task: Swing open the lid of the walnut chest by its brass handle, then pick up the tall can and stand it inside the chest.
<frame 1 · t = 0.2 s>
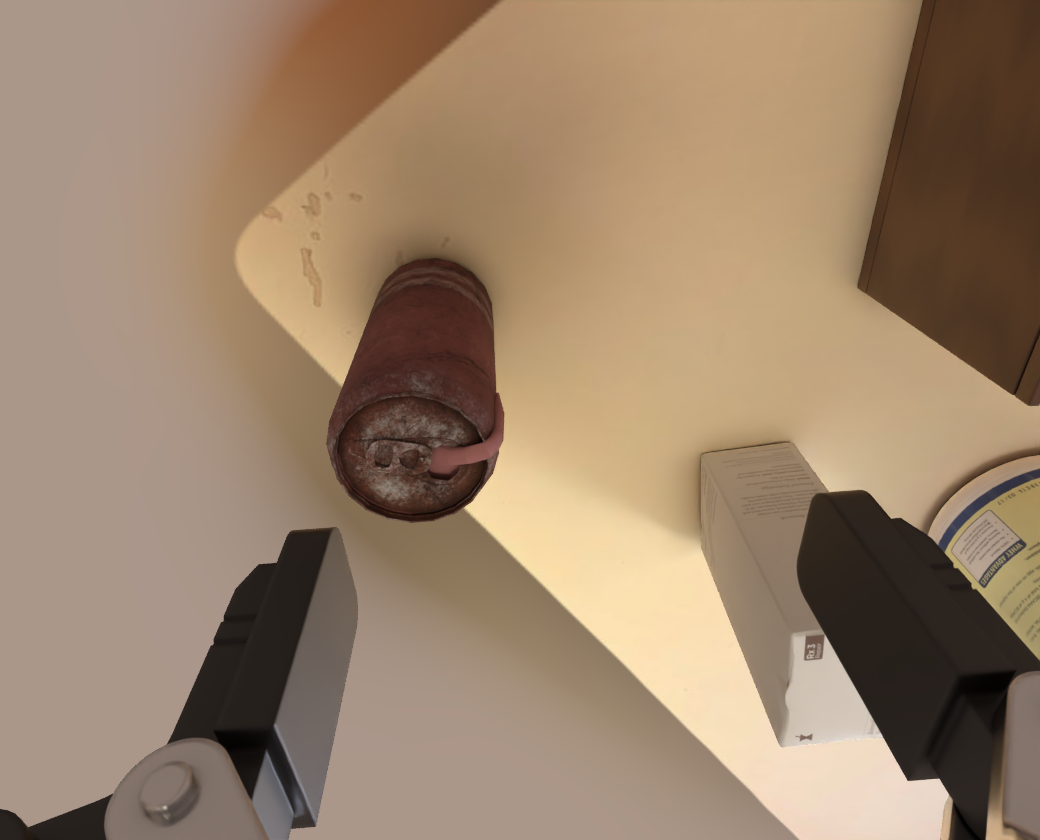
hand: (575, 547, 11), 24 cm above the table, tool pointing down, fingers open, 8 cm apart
chest: (1022, 131, 31), on the table
supplement tub: (1005, 517, 44), on the table
can: (438, 309, 34), on the table
cosmetic box: (739, 491, 42), on the table
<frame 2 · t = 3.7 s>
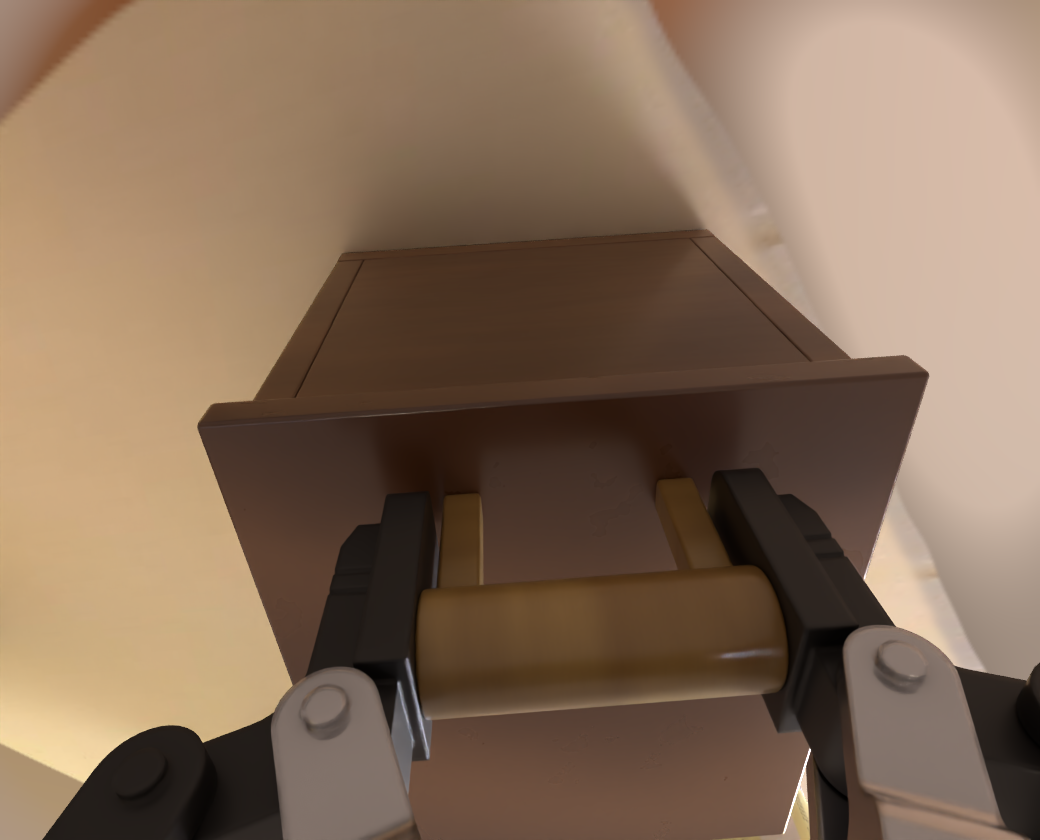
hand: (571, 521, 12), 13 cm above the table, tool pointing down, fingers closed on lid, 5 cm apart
chest: (534, 421, 26), on the table
supplement tub: (679, 754, 40), on the table
lid: (580, 756, 14), point 14 cm above the table, hinge at -0.1°, touching gripper
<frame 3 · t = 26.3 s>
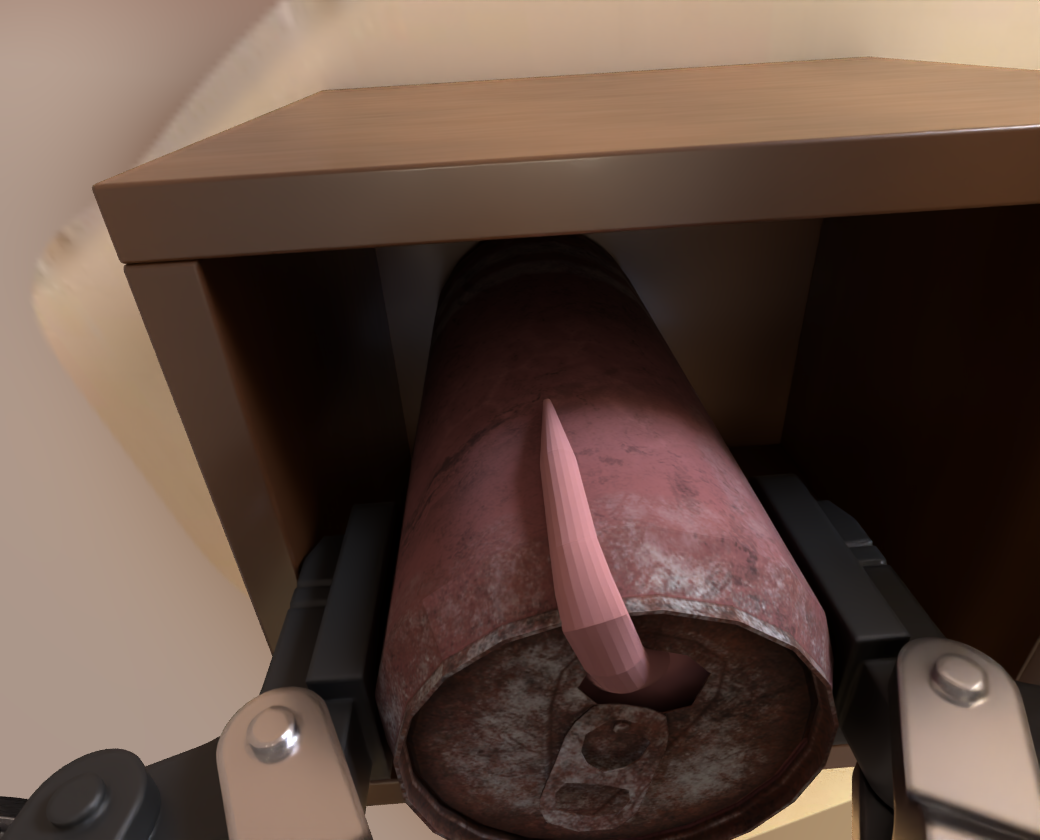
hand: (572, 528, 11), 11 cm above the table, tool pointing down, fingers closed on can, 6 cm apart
chest: (595, 299, 21), on the table
can: (533, 316, 20), point 1 cm above the table, touching gripper
when the fingers open (11 cm above the table, at t = 33.5 s): can stays where it is, resting on chest.
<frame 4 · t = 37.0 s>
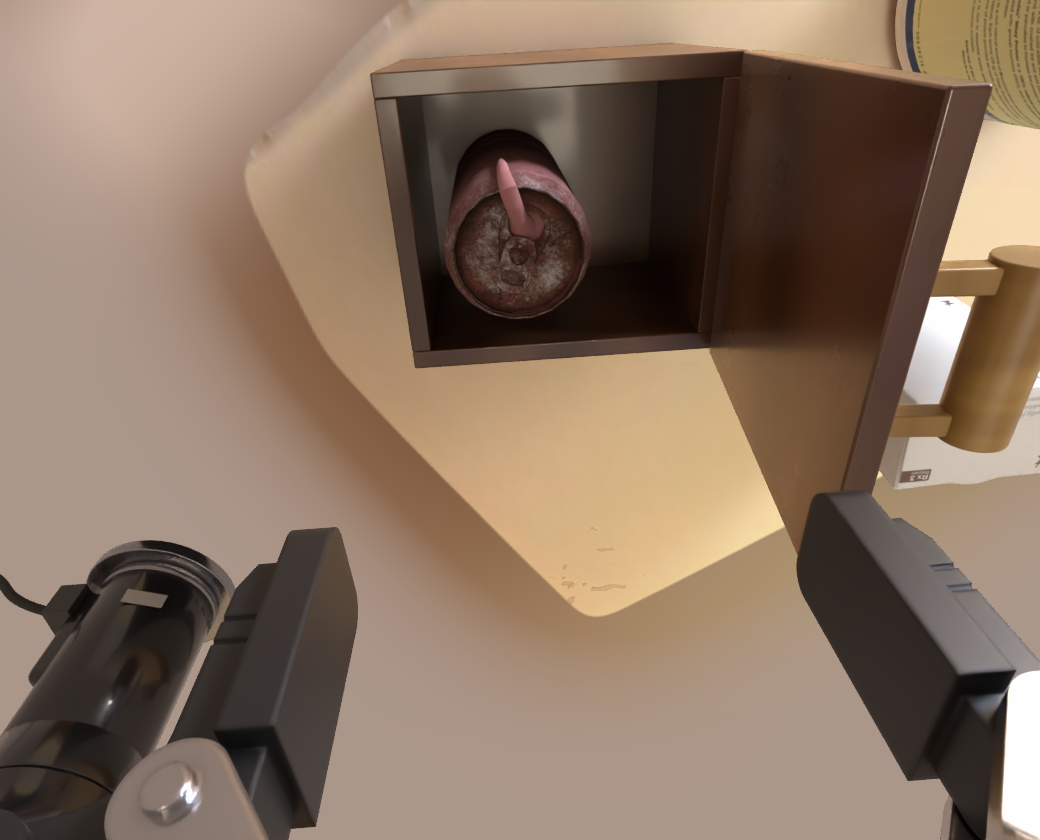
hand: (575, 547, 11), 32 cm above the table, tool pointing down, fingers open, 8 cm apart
chest: (541, 174, 38), on the table
lid: (850, 278, 21), point 20 cm above the table, hinge at 83.5°
can: (506, 181, 38), point 1 cm above the table, touching chest
cosmetic box: (847, 320, 45), on the table
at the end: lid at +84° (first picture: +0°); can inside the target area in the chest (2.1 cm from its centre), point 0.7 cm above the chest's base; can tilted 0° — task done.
